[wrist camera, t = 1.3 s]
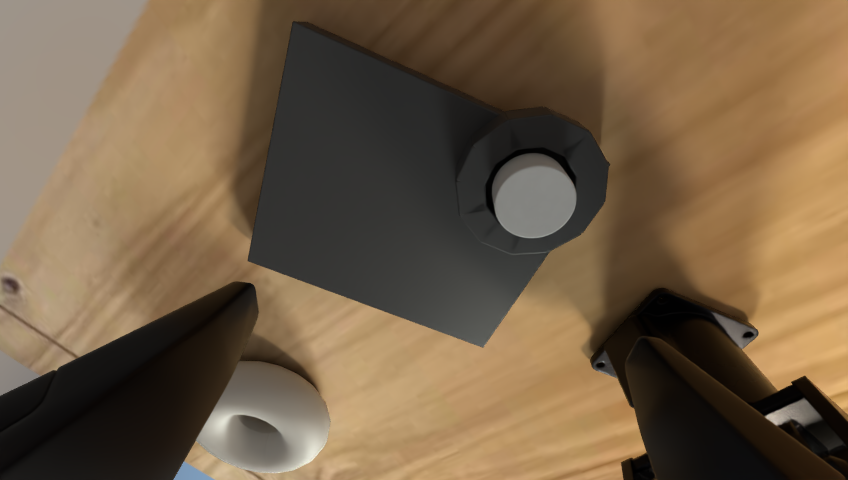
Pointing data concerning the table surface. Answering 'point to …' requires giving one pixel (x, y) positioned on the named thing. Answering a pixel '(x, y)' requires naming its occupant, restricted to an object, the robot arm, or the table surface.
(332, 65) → the scale
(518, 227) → the button
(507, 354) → the table surface
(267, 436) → the donut
